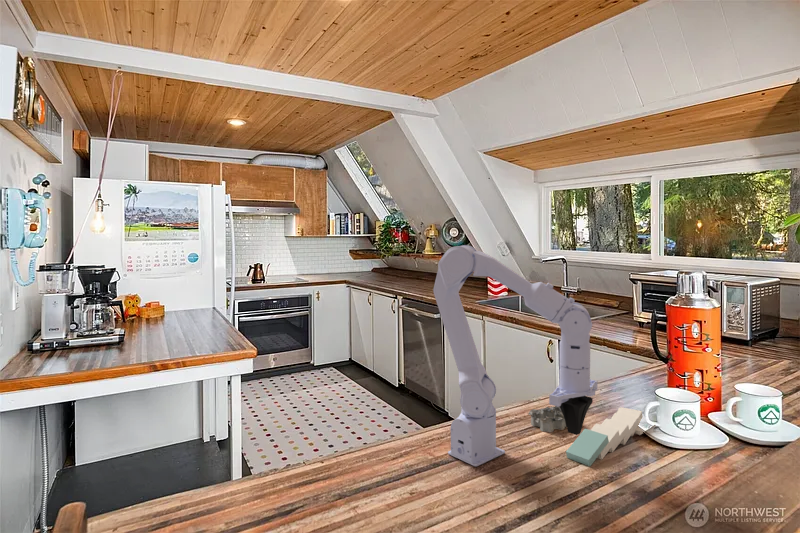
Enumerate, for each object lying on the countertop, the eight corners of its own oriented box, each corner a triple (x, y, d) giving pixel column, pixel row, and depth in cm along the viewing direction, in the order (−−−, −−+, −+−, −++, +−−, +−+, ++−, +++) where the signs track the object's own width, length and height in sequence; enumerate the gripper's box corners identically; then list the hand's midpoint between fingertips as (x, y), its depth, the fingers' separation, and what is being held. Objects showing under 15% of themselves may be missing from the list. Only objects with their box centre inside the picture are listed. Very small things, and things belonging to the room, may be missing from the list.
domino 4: (631, 430, 109) (642, 411, 115) (609, 425, 113) (619, 407, 118) (632, 436, 110) (642, 416, 115) (609, 431, 113) (620, 412, 119)
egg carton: (544, 435, 112) (544, 417, 112) (525, 423, 119) (525, 407, 119) (582, 427, 116) (582, 411, 115) (561, 416, 123) (561, 401, 123)
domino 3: (611, 446, 102) (628, 424, 106) (588, 438, 106) (606, 418, 110) (612, 452, 102) (629, 430, 107) (590, 445, 106) (607, 424, 111)
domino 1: (588, 460, 96) (607, 435, 100) (565, 451, 100) (585, 428, 104) (590, 466, 96) (608, 441, 101) (567, 457, 100) (586, 434, 105)
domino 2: (600, 453, 99) (618, 430, 103) (577, 445, 102) (596, 423, 107) (601, 459, 99) (619, 436, 104) (579, 451, 103) (597, 429, 108)
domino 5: (623, 438, 105) (637, 417, 110) (600, 432, 109) (615, 412, 114) (624, 444, 105) (638, 423, 111) (601, 438, 109) (616, 418, 114)
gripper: (573, 377, 88) (572, 450, 89) (612, 362, 97) (611, 428, 98) (539, 369, 94) (539, 438, 94) (579, 356, 103) (579, 419, 104)
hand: (574, 432), depth 97 cm, fingers closed
